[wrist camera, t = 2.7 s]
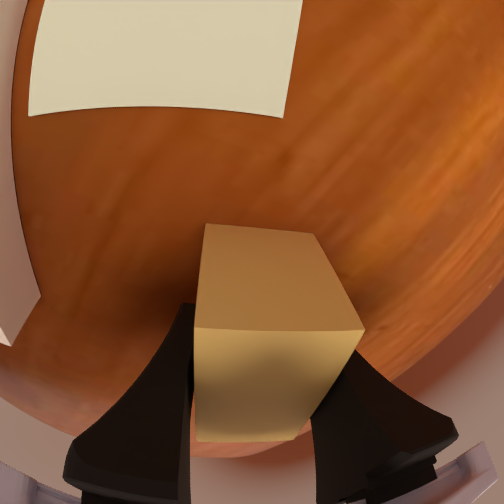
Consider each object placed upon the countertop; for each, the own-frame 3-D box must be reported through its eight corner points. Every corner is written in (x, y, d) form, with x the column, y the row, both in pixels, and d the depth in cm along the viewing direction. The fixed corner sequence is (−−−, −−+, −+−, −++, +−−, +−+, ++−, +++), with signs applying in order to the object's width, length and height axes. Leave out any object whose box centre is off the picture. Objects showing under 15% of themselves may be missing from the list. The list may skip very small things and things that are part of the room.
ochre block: (199, 350, 13) (196, 441, 9) (205, 223, 10) (193, 327, 6) (276, 353, 14) (293, 439, 10) (313, 233, 11) (365, 330, 6)
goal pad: (33, 115, 7) (28, 116, 7) (57, -25, 4) (54, -27, 4) (280, 117, 8) (282, 117, 8) (306, -35, 5) (308, -38, 5)
